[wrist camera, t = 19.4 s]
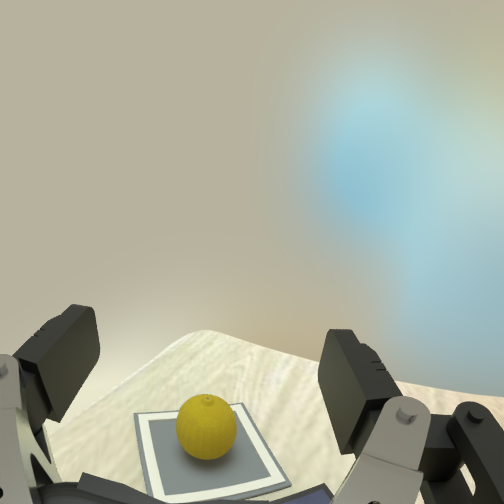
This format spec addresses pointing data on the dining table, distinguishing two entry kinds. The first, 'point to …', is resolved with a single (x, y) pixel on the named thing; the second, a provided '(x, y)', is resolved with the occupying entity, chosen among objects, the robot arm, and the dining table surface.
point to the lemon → (206, 427)
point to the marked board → (205, 462)
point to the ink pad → (308, 496)
